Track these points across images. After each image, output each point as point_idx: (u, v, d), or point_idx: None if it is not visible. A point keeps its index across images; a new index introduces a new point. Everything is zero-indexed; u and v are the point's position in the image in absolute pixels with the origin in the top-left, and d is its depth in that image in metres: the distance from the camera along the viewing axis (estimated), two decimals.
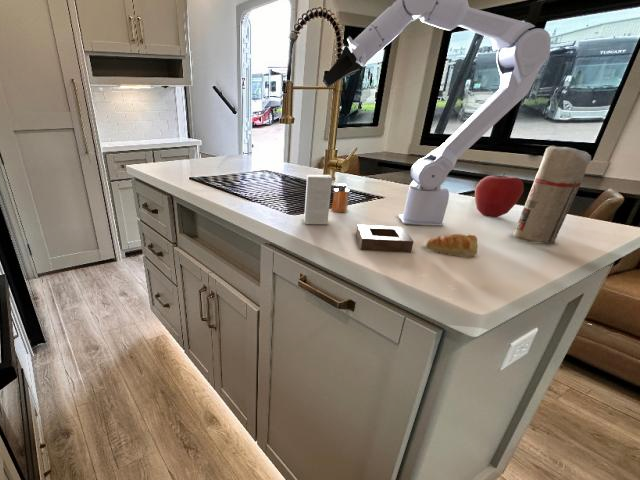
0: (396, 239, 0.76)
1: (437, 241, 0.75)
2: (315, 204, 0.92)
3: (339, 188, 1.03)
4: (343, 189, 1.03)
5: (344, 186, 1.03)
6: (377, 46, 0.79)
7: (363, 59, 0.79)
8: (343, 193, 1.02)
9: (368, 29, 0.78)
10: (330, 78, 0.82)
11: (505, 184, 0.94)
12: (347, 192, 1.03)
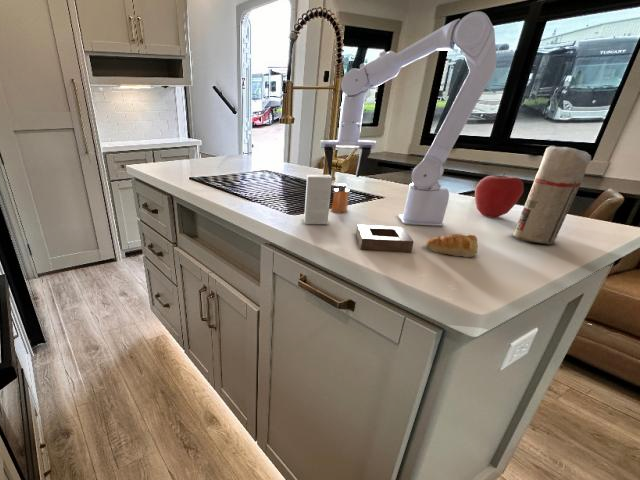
0: (396, 239, 0.76)
1: (437, 241, 0.75)
2: (315, 204, 0.92)
3: (339, 188, 1.03)
4: (343, 189, 1.03)
5: (344, 186, 1.03)
6: (341, 128, 0.95)
7: (333, 143, 0.97)
8: (343, 193, 1.02)
9: None
10: None
11: (505, 184, 0.94)
12: (347, 192, 1.03)
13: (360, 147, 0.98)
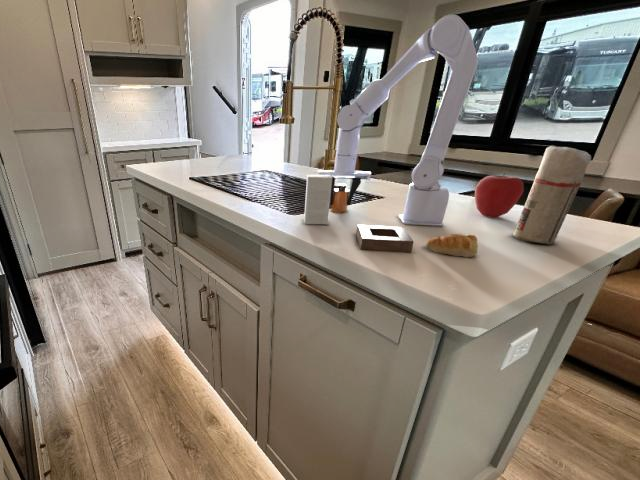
0: (396, 239, 0.76)
1: (437, 241, 0.75)
2: (315, 204, 0.92)
3: (339, 188, 1.03)
4: (343, 189, 1.03)
5: (344, 186, 1.03)
6: (337, 160, 0.99)
7: (330, 174, 1.01)
8: (343, 193, 1.02)
9: None
10: (330, 199, 1.06)
11: (505, 184, 0.94)
12: (347, 192, 1.03)
13: (351, 177, 1.02)
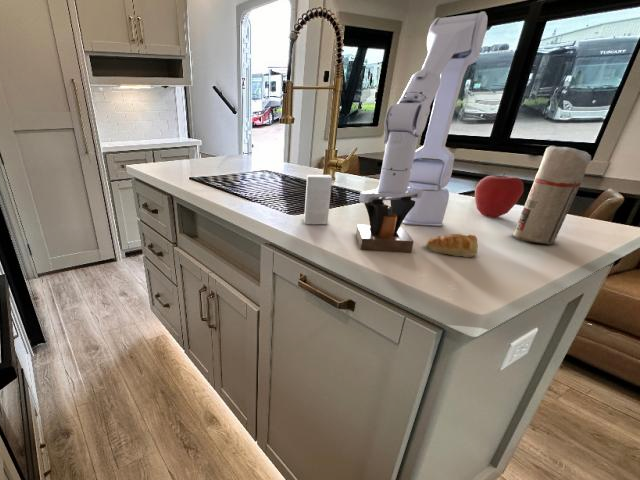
0: (396, 239, 0.76)
1: (437, 241, 0.75)
2: (315, 204, 0.92)
3: (387, 213, 0.77)
4: (392, 213, 0.77)
5: (393, 209, 0.77)
6: (391, 176, 0.72)
7: (381, 196, 0.74)
8: (394, 218, 0.77)
9: None
10: (373, 228, 0.79)
11: (505, 184, 0.94)
12: (397, 217, 0.78)
13: (399, 197, 0.77)
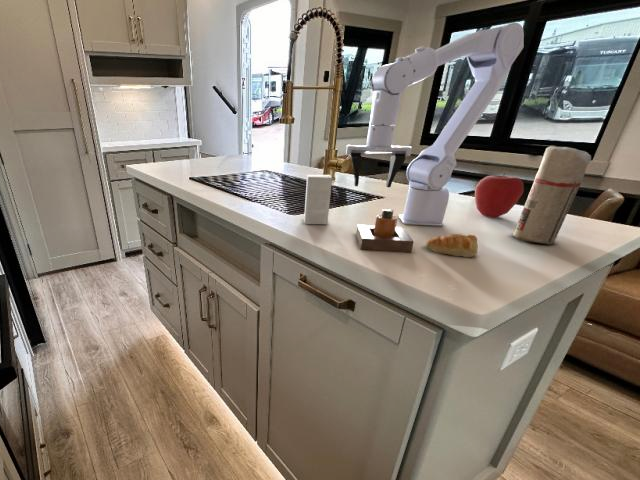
0: (396, 239, 0.76)
1: (437, 241, 0.75)
2: (315, 204, 0.92)
3: (387, 215, 0.77)
4: (391, 216, 0.78)
5: (392, 212, 0.77)
6: None
7: None
8: (394, 221, 0.77)
9: (390, 130, 0.81)
10: None
11: (505, 184, 0.94)
12: None
13: None
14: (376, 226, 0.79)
